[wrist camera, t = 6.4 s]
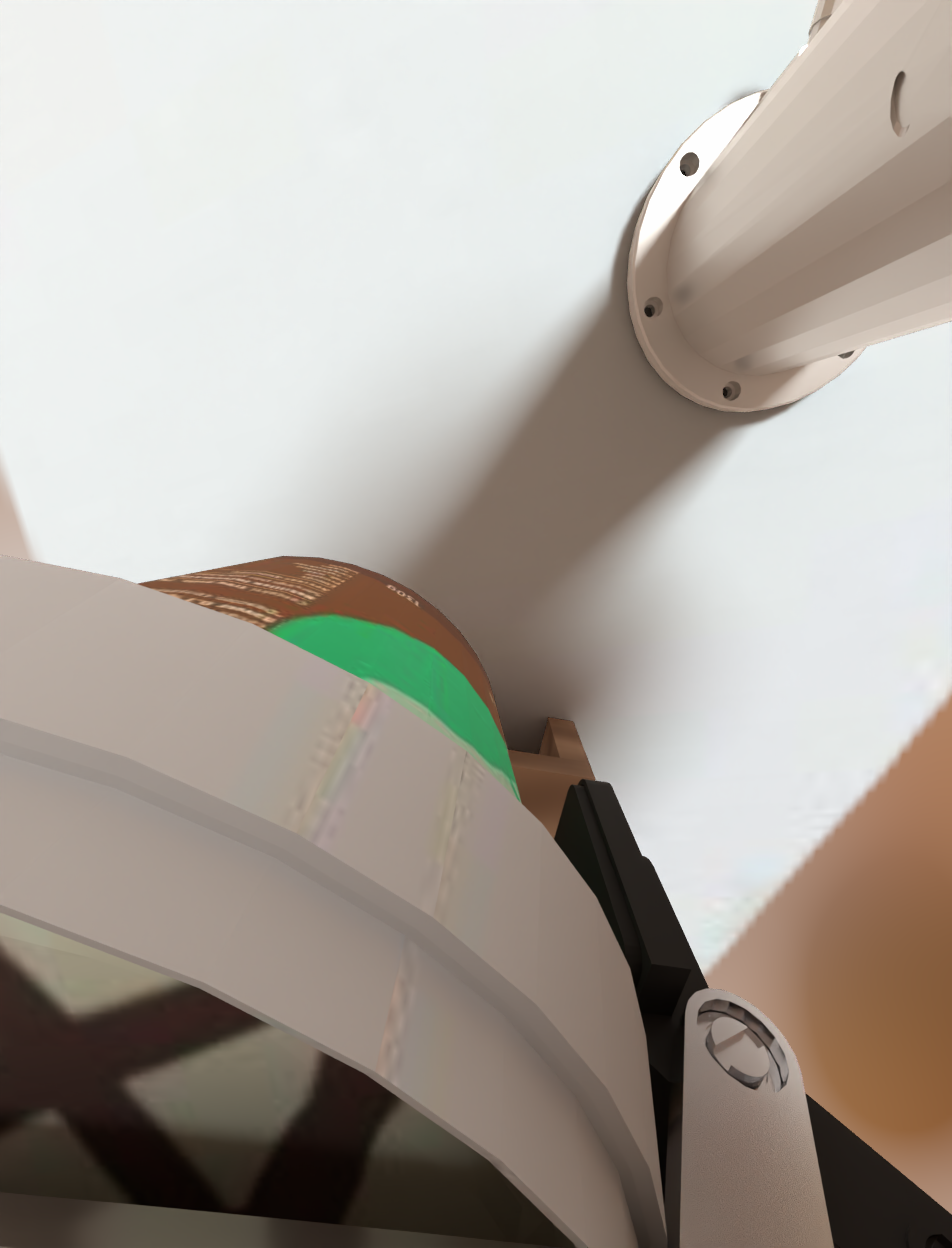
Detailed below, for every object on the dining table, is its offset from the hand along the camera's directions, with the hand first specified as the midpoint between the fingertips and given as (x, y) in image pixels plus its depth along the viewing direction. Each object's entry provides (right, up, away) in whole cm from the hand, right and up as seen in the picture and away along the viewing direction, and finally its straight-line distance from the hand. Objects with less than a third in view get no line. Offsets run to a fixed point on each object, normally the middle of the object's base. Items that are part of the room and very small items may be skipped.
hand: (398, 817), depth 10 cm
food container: (0, +1, +3) cm, 3 cm away
